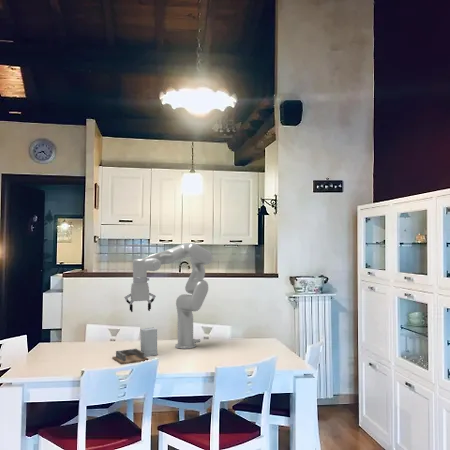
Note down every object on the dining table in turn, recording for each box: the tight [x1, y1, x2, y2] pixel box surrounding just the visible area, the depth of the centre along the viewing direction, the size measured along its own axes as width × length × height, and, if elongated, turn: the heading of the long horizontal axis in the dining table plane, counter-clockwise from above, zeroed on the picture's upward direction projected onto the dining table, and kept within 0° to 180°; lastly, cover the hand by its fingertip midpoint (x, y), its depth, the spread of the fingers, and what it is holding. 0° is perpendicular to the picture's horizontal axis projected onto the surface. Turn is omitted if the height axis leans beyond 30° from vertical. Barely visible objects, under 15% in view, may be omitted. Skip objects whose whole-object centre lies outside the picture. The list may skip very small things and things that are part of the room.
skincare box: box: [139, 326, 158, 358], centre depth 256 cm, size 8×6×15 cm
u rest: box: [111, 348, 150, 365], centre depth 245 cm, size 15×15×4 cm
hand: (140, 311), depth 256 cm, fingers open, 9 cm apart
